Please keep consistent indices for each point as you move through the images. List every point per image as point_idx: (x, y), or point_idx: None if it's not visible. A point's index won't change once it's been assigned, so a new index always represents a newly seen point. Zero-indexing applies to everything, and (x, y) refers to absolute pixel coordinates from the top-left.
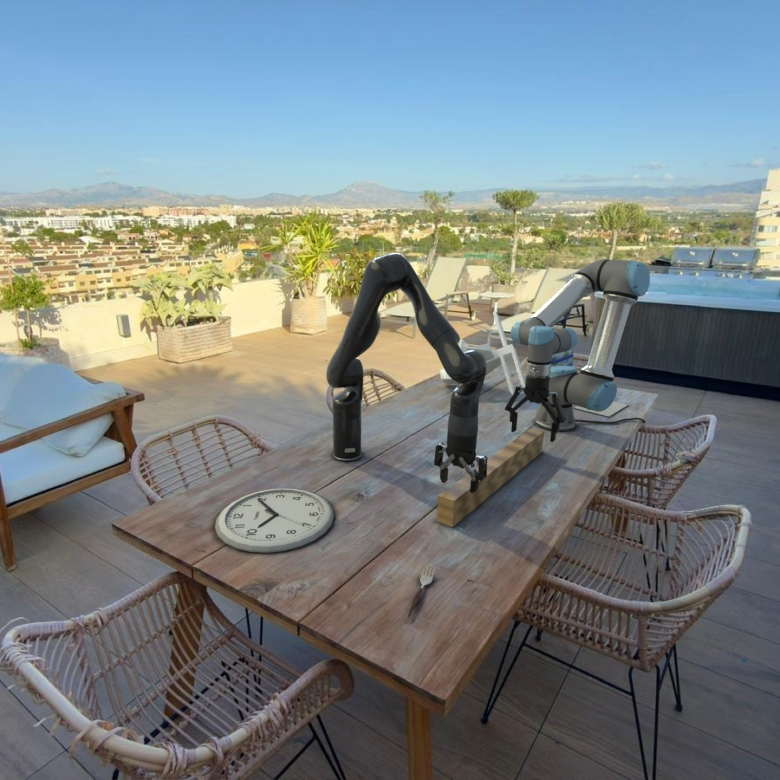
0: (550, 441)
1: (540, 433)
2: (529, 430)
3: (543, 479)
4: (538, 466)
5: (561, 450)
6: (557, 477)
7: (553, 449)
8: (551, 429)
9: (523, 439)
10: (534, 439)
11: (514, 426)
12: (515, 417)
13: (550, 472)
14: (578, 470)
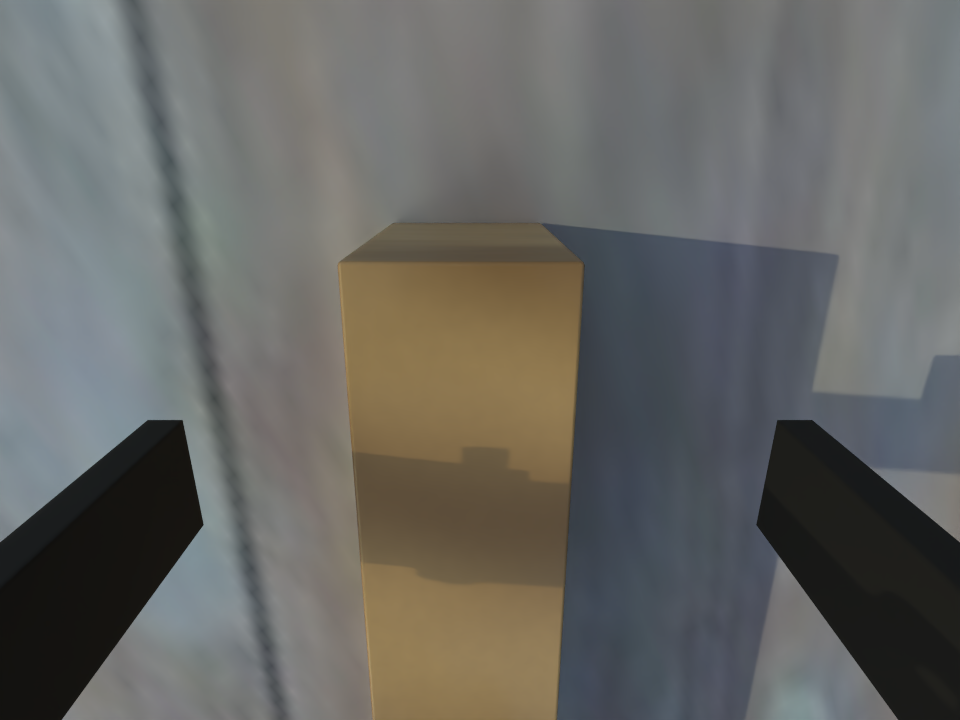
0: (763, 528)
1: (564, 390)
2: (368, 381)
3: (716, 690)
4: (620, 534)
5: (717, 13)
6: (801, 613)
7: (626, 49)
8: (880, 689)
9: (453, 707)
10: (562, 610)
11: (151, 555)
12: (28, 688)
13: (735, 572)
14: (947, 405)
